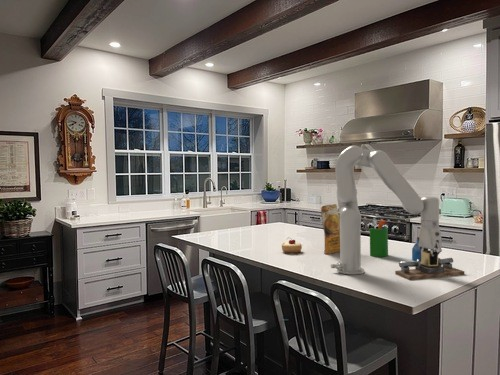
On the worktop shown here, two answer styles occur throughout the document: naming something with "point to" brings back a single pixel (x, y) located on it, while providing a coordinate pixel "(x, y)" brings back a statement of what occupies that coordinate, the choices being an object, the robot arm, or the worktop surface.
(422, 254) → the coupling block
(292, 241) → the pastry
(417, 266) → the left shaft
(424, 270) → the stand
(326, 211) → the pancake mix bag
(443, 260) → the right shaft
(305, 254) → the worktop surface
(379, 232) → the green bottle
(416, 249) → the perfume bottle
